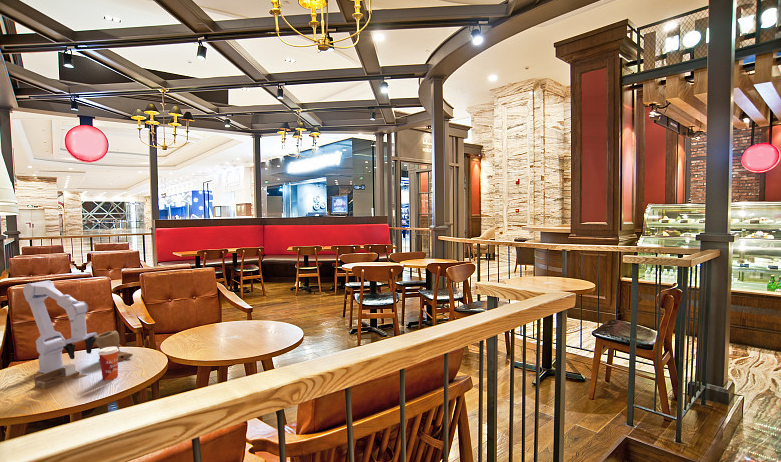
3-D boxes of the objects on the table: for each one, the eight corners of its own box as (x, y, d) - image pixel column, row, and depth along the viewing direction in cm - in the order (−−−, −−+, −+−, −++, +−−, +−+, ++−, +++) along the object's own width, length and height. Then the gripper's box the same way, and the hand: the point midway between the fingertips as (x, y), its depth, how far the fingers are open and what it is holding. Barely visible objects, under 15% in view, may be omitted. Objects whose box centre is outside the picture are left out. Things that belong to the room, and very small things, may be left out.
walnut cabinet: (35, 387, 170) (34, 376, 170) (73, 373, 185) (72, 363, 184) (49, 391, 167) (48, 379, 167) (87, 376, 181) (86, 366, 181)
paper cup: (109, 383, 174) (107, 352, 173) (95, 381, 175) (93, 351, 174) (125, 375, 181) (123, 346, 180) (111, 374, 183) (109, 345, 182)
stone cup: (92, 362, 199) (90, 333, 198) (117, 354, 210) (115, 326, 209) (109, 366, 192) (107, 337, 191) (133, 358, 203) (132, 330, 202)
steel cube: (60, 375, 178) (59, 367, 178) (70, 371, 182) (69, 363, 182) (65, 376, 177) (65, 368, 177) (75, 373, 181) (75, 364, 180)
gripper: (66, 333, 176) (69, 362, 177) (100, 324, 189) (102, 351, 190) (57, 332, 178) (59, 360, 179) (90, 323, 192) (92, 349, 193)
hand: (80, 355), depth 185 cm, fingers open, 7 cm apart
